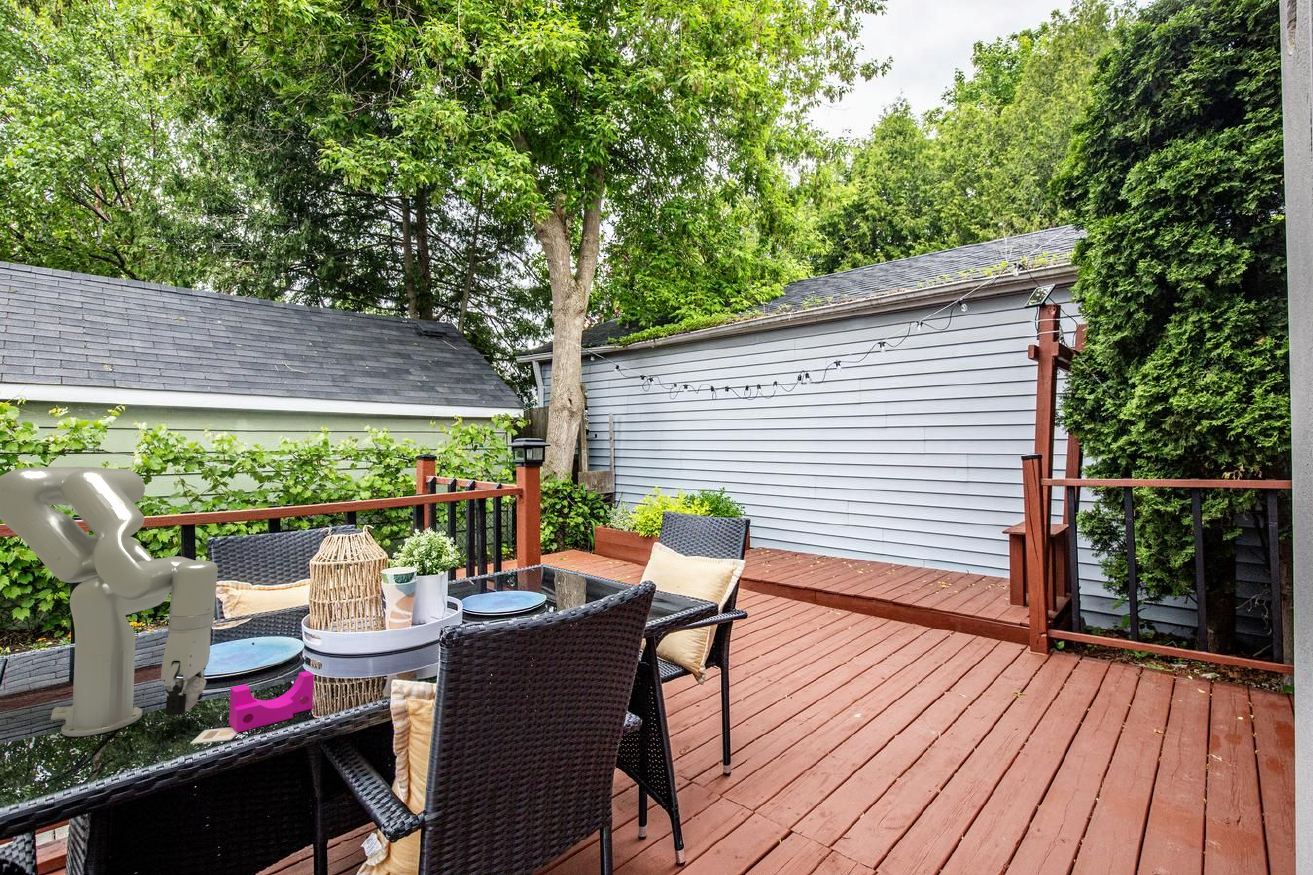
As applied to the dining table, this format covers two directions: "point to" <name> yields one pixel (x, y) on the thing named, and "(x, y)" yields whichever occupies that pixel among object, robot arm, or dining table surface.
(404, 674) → the dining table surface
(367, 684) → the dining table surface
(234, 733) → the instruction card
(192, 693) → the frog figurine
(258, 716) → the toy block
